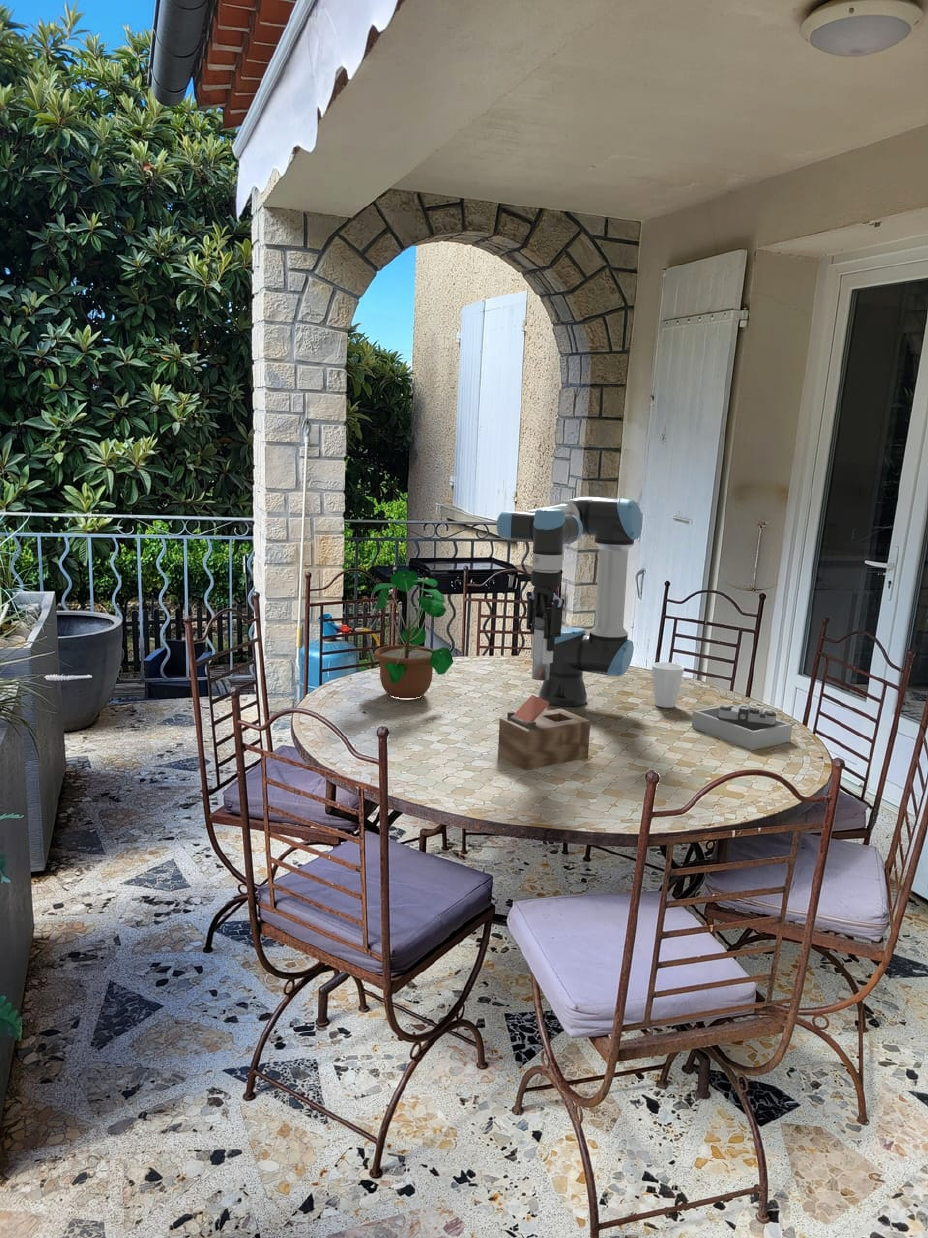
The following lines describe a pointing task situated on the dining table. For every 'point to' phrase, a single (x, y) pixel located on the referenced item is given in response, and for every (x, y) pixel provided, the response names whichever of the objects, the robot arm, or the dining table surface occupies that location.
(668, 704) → the cup
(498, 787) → the dining table surface
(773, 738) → the camera corral
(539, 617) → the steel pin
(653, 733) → the dining table surface
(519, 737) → the block
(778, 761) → the dining table surface
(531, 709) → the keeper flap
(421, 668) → the potted plant
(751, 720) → the camera
